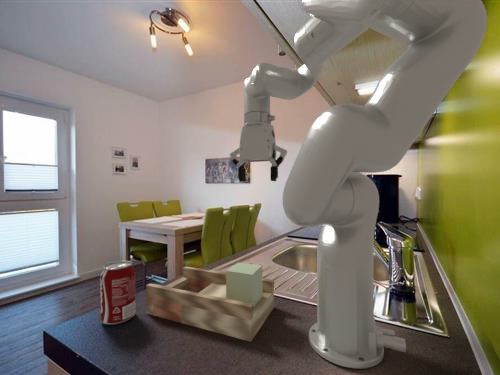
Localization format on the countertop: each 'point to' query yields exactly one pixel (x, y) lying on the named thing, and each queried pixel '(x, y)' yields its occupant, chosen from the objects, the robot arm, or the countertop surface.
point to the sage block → (244, 283)
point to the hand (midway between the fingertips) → (257, 181)
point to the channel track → (209, 304)
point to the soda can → (117, 292)
